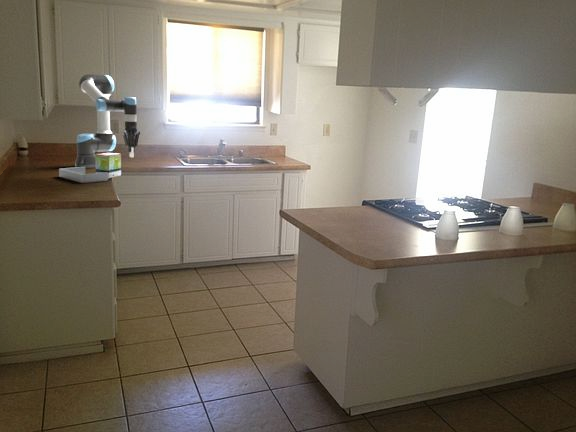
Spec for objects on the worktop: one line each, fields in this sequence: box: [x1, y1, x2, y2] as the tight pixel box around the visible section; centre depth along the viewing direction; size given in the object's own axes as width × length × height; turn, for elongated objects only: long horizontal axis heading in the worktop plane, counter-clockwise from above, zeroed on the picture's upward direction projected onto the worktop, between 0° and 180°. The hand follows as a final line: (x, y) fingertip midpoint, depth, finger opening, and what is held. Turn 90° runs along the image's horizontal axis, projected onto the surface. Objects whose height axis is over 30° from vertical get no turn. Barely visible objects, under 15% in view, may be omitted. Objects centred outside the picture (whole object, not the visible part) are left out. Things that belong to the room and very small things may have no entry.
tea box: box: [95, 152, 122, 179], centre depth 338 cm, size 15×10×15 cm, turn 168°
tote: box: [58, 166, 109, 184], centre depth 327 cm, size 17×29×5 cm, turn 49°
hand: (131, 157), depth 350 cm, fingers closed
